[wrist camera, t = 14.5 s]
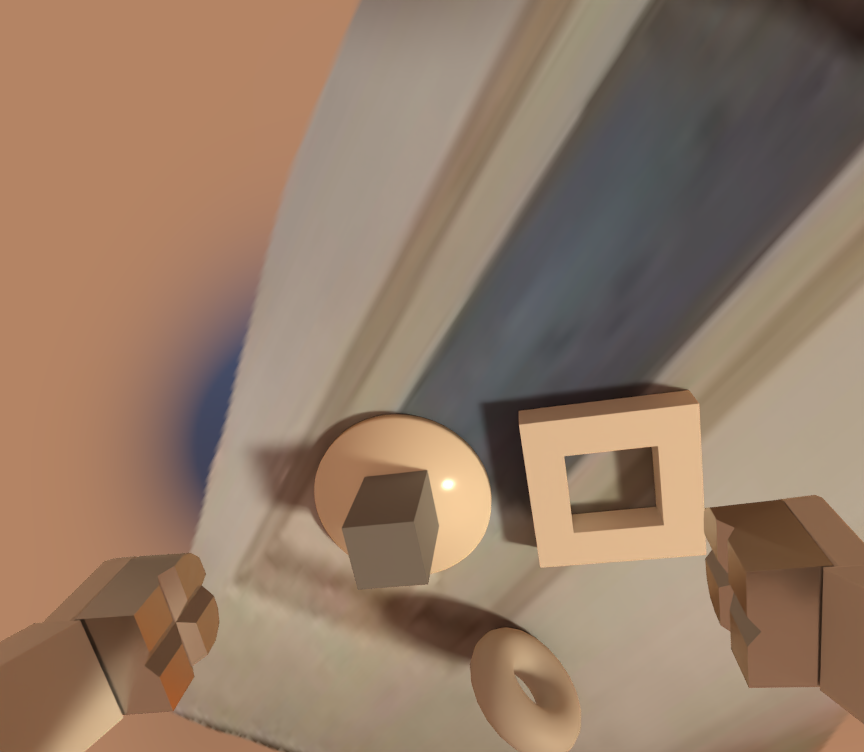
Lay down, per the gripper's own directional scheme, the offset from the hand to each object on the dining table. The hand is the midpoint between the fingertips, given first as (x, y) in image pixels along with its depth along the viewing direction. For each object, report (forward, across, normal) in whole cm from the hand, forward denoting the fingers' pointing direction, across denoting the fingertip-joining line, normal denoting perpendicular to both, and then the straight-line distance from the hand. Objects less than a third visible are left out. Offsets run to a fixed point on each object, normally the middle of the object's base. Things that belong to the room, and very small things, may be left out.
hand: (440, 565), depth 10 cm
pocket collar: (+34, -6, +18) cm, 39 cm away
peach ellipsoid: (+34, +10, +18) cm, 40 cm away
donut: (+34, +2, +33) cm, 48 cm away
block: (+33, +10, +18) cm, 39 cm away
